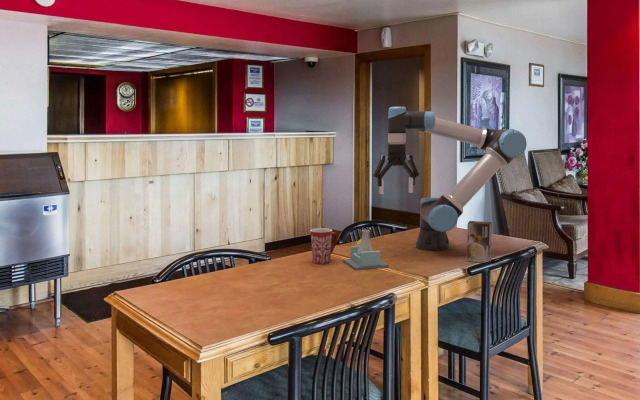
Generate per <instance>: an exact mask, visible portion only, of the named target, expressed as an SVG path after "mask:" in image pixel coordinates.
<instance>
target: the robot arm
mask: <svg viewBox="0 0 640 400" xmlns="http://www.w3.org/2000/svg"><path fill="white" fill-rule="evenodd" d="M407 130H415V131H418V132H419V131H420V132H421V133H426V134H431V135H435V136H439V137H443V138H445V139H450V140H453V141H454V140H455V141H457V142H461V143H462V142H463V143H465V144H470V145H473V146H476V148H477V149H479V150H483V151H485V154H484V155H482V157H481V158H479V160H478V161H477V162H476V163H475V164H474V165H473V166H472V168H471V169H470V170H469V171H468V172H466V174H465V175H464V176H463V177H462V178H461V179H460V180H459V181H458V182H457V184H456V185H455V186H454V187H453V188H452V189H451V190H450V191H449V192H448V193H447V194H442V195H441V196H440V197H423V198H421V199H420V203H419V206H420V207H419V208H420V209H419V211H420V213H419V232H418V236H417V237H416V241H415V247H416V248H417V249H418V250H423V251H432V252H433V251H438V252H439V251H446V250H449V249H450V240H449V237H448V234H447V232H449V231H451V230H452V229H454V228H455V227H456V225H457V224H458V220H459V218H460V217H461V216H462V215H463V213H464V207H465V206H466V205H467V204H468V203H469V202H470V201H471V200H472V198H473V197H474V196H475V195H476V194H477V193H478V192H480V190H481V189H482V188H483V187H484V185H486V184H487V182H488V181H489V180H490V179H491V178H492V177H493V176H494V175H495V174H496V173H497V172H498V171H499V169H501V167H508V165H509V164H510V163H511V162H512V161H513V160H514V159H516V158H519V157H521V156H522V155H523V154H524V153H525V152H526V149H527V139H526V137H525V135H524V134H523V132H522V131H520V130H517V129H513V128H509V129H504V128H503V129H494V128H488V127H482V128H478V127H474V126H470V125H466V124H463V123H459V122H456V121H451V120H448V119H443V118H439V117H436V115H435V112H433V111H427V110H422V111H408V110H407V107H406V106H391V107H389V108H388V116H387V143H388V144H387V155H385V154H381V155H380V160H379V162H378V165H377V167H376V168H375V170H374V173H373V177H374V178H376V179H377V186H378V187H379V194H380V195H384V193H385V192H384V185H385V182H384V176H385V174H386V173H387V172H388V171H389V170H390V169H391V167H392V166H394V167H396V166H402V167H403V169H404V170H405V172H406V173H407V175H408V176H409V177H408V193H409V194H410V193H411V194H414V186H415V184H416V178H417V177H419V176H420V173H419V171H418V168H417V166H416V163H415V162H414V159H413V154H407V155H406V153H407V151H406V150H407V147H406V144H405V143H406V141H407V132H406V131H407ZM406 160H407V161H408V163H409V165H408V164H407V163H406ZM386 161H387V162H386ZM385 162H386V165H385ZM384 165H385V166H384ZM383 166H384V167H383ZM409 166H410V167H409Z"/></svg>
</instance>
